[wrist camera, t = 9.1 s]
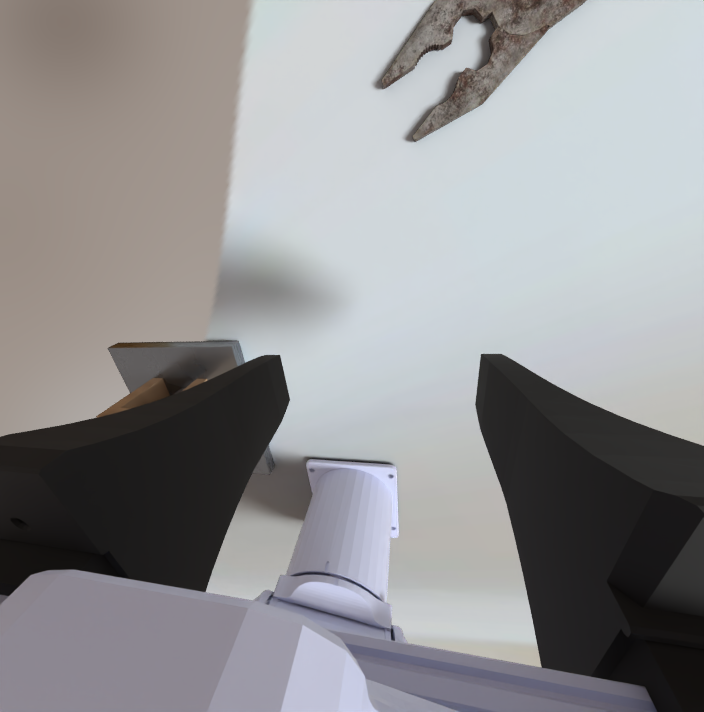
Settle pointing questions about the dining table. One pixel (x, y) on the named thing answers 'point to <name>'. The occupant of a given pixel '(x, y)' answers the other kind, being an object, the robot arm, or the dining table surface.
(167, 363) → the base plate
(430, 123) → the pliers
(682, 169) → the dining table surface
